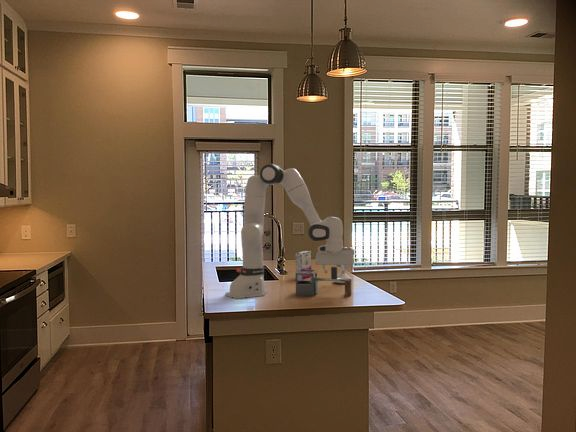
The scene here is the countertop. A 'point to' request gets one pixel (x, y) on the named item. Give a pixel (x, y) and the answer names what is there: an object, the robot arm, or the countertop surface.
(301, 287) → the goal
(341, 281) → the flower in vase
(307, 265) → the candy bar box
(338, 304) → the countertop surface
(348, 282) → the rod cradle
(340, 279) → the rod
